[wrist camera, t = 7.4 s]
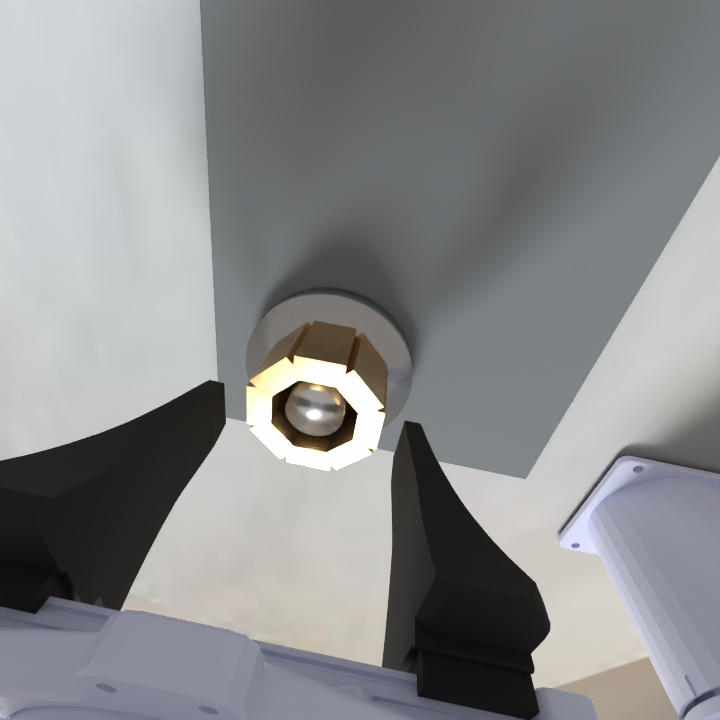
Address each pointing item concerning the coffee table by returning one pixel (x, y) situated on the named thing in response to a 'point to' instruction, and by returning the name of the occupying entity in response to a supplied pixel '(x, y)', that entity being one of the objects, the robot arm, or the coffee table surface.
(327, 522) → the coffee table surface
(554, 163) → the bench mat
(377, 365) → the ring
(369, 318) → the metal peg stand
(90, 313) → the coffee table surface
